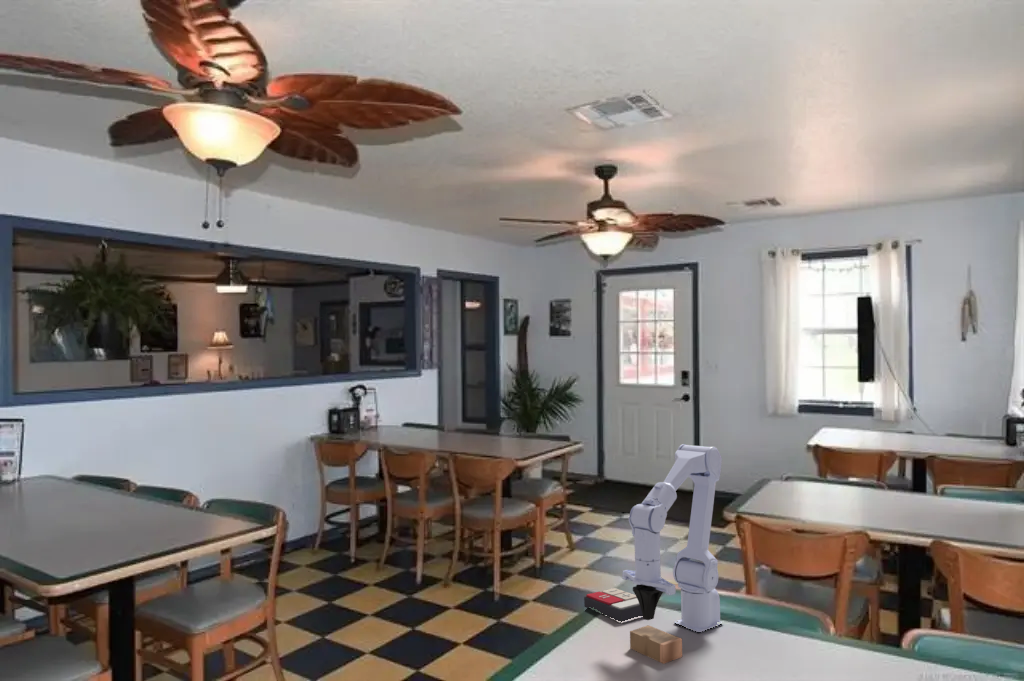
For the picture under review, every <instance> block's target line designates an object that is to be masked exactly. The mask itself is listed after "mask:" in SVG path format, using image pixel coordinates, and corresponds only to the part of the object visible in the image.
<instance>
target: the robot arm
mask: <svg viewBox="0 0 1024 681" xmlns="http://www.w3.org/2000/svg"><path fill="white" fill-rule="evenodd" d="M722 462H723V458H722V456H721V453H720V450H719V449H718V448H717V446H702V445H691V444H685V443H682V444H680V445H679V446H678V447H677V449H676V451H675V453H674V463H673V465H672V467H671V468H670V470H669V472H668V474H666V477H665V479H664V480H663V481H658V482H656V483H655V484H654V486H653V487H652V489H651V490H650V491H649V492H648V494H647V496H646V497H645V498H644V499H643V501H642V502H641V503H638V504H637V503H636V505H634V506H632V508H631V509H630V512H629V516H628V523H629V526H630V528H631V535H632V536H633V537H634V570H631V569H625V570H624V569H623V570H621V571H622V572H621V573H622V574H621V576H622V577H621V579H622V580H624V581H627V580H628V581H630V582H632V583H633V584H635V586H633V587H632V591H633V594H634V595H636V597H637V599H638V601H639V604H640V607H641V611H642V615H643V618H642V619H644V620H646V621H650V620H653V619H654V618H655V614H656V610H657V607H658V606H657V605H658V604H659V600H660V598H661V597H662V596H663V593H665V594H666V596H667V595H668V596H671V595H675V594H676V584H674V583H672V582H669V581H668V580H666V579H664V578H662V577H661V575H662V574H661V573H662V572H661V532H662V530H663V529H664V527H665V524H666V519H667V517H668V516H667V515H668V512H669V510H670V509H671V507H672V506H673V505H674V503H675V502H676V500H677V498H678V495H677V492H676V491H677V490H678V489H679V488H680V487H681V485H683V483H684V482H685V481H686V480H687V479H688V478H689V479H691V480H692V482H693V484H694V485H693V486H694V487H693V494H692V502H691V512H690V517H689V528H688V535H687V536H688V537H687V543H686V547H684V548H682V549H681V550H679V551H678V552H677V554H676V555H677V556H676V559H675V563H674V564H673V568H672V576H673V580H674V581H675V583H677V587H678V588H679V589H680V607H681V608H680V609H681V610H680V615H681V618H680V619H678V620H674V621H673V624H674V623H676V624H679V625H682V626H684V627H687V628H689V629H692V630H693V631H692V630H691V631H692V632H695V631H696V632H695V633H697V632H701V633H703V632H705V630H706V631H708V630H707V629H709V630H711V629H710V628H712V627H714V628H716V627H715V626H716V625H719V624H717V622H721V623H722V622H723V621H721V600H720V595H719V592H718V590H717V589H716V587H717V585H718V582H719V570H718V567H719V566H718V563H719V561H718V559H717V558H716V557H715V555H713V553H711V551H710V550H709V548H710V547H709V545H710V537H711V529H712V528H711V527H712V520H713V512H714V503H715V493H716V485H717V482H719V481H720V478H721V473H722V472H721V470H722ZM694 560H695V561H694ZM696 560H697V561H696ZM699 561H700V562H699ZM676 621H678V622H676ZM721 623H720V624H721ZM676 624H675V625H676ZM679 625H678V626H679ZM682 626H681V627H682ZM684 627H683V628H684ZM687 628H686V629H687ZM689 629H688V630H689ZM712 629H713V628H712ZM702 631H703V632H702Z"/></svg>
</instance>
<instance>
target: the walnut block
mask: <svg viewBox="0 0 1024 681" xmlns="http://www.w3.org/2000/svg"><path fill="white" fill-rule="evenodd" d="M629 643H630V644H629V646H630V647H629V648H630V650H632V649H633V650H632V651H634V650H635V652H636V651H637V652H636V653H638V654H641V655H643V656H645V657H648V658H650V659H652V660H655V661H656V662H659V663H661V664H667V663H669V662H672V660H673V661H675V660H678V659H681V658H682V657H683V639H682V638H681V637H679V636H676V635H674V634H671V633H668V632H666V631H663V630H661V629H659V628H656V627H654V626H651V625H650V624H649V625H645V626H642V627H639V628H635V629H633V630H630V631H629Z"/></svg>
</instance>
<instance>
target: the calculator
mask: <svg viewBox="0 0 1024 681" xmlns="http://www.w3.org/2000/svg"><path fill="white" fill-rule="evenodd" d="M583 601H584V602H583V603H584V606H583V607H584V608H587V609H588V608H589V607H591V608H593V607H594V609H597V610H598V611H600V612H601V613H603V614H605V615H607V616H609V617H611V618H614V619H615V620H618V621H621V622H622V621H625V620H628V619H631V618H634V617H638V616H643V615H642V611H641V607H640V604H639V601H638V599H637V597H636V595H635V593H630V592H629V591H628V592H627V591H625V590H622V589H619V588H616V587H612V588H609V589H605V590H601V591H596V592H592V593H587V594H586V596H583ZM591 608H590V609H589V610H591ZM607 616H606V617H607ZM609 617H608V618H609Z"/></svg>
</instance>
